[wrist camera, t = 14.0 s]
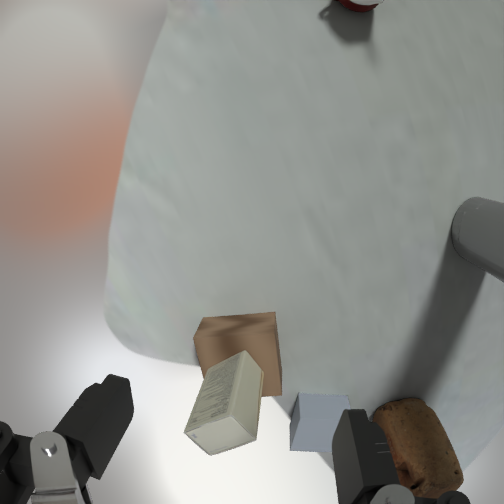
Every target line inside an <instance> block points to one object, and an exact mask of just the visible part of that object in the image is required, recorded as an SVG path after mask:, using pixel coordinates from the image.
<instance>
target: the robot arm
mask: <svg viewBox="0 0 504 504" xmlns="http://www.w3.org/2000/svg"><path fill="white" fill-rule="evenodd" d="M452 240H453V244H454V247H455V249H456V251H457V252H458V254H459V255H460V256H462V257H463V258H465V259H466V260H468V261H470V262H471V263H473V264H475V265H476V266H478V267H480V268H481V269H483V270H484V271H486V272H488V273H489V274H491V275H493V276H494V277H496V278H497V279H499V280H501V281H502V282H504V203H501V202H497V201H493V200H489V199H485V198H480V197H474V198H471V199H468V200H467V201H465V202H464V203H463V204H462V205H461V206H460V208H459V209H458V211H457V212H456V215H455V217H454V220H453V224H452ZM133 413H134V406H133V399H132V393H131V387H130V381H129V379H127V378H124V377H120V376H116V375H113V374H109V375H108V376H107V377H106V378H105V379H104V381H103V382H102V383H101V384H98V383H94V384H93V385H91V386H89V387H88V388H86V389H85V390H84V391H83V393H82V394H81V395H80V396H79V399H77V400H76V402H75V403H74V405H73V406H72V407H71V408H70V409H69V411H68V412H67V413H66V414H65V416H64V417H63V418H62V420H61V421H60V422H59V424H58V425H57V426H56V428H55V429H54V430H53V431H52V432H50V431H46V432H41V433H39V434H37V435H36V436H35V437H34V438H32V437H26V436H21V435H17V434H14V433H13V432H12V430H11V428H10V426H9V425H8V424H6V423H4V422H1V421H0V504H27V502H28V500H29V498H30V496H31V502H32V504H93V501H92V498H91V495H90V492H89V489H88V485H87V481H88V479H89V477H90V476H91V477H93V478H96V479H98V480H100V479H101V477H102V474H103V473H104V471H105V469H106V467H107V465H108V463H109V461H110V459H111V458H112V456H113V454H114V452H115V450H116V448H117V446H118V445H119V443H120V441H121V439H122V437H123V435H124V433H125V431H126V430H127V428H128V426H129V424H130V422H131V420H132V417H133ZM332 455H333V462H334V470H335V478H336V486H337V493H338V502H339V504H470V501H469V499H468V497H467V496H466V495H464V494H463V493H462V492H459V491H453V490H452V491H447V492H445V493H443V494H442V495H441V496H440V497H439V498H438V499H436V498H424V497H417V496H413V494H412V492H411V491H410V490H409V489H407V488H406V487H404V486H401V484H400V481H399V477H398V474H397V471H396V467H395V464H394V461H393V457H392V454H391V453H390V448H389V445H388V444H387V438H386V435H385V432H384V431H383V429H382V428H381V427H380V426H379V425H378V424H377V423H376V422H369V421H368V417H367V414H366V411H365V410H364V409H345V410H344V411H343V413H342V415H341V418H340V420H339V423H338V425H337V428H336V430H335V433H334V435H333V439H332ZM34 489H35V493H33V491H34Z"/></svg>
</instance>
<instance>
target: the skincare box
mask: <svg viewBox="0 0 504 504" xmlns="http://www.w3.org/2000/svg"><path fill="white" fill-rule="evenodd" d="M263 378H264V372H263V371H262V369H261V368H260V367H259V366H258V364H257V363H256V362H255V361H254V360H253V358H252V357H251V356H250V355H249V353H248V352H247V351H246V350H244V351H242V352H240V353H238V354H236V355H234V356H232V357H230V358H228V359H226V360H224V361H222V362H220V363H218V364H216V365H214V366H213V367H211V368H209V369H208V370H207V373H206V375H205V378H204V381H203V383H202V386H201V389H200V391H199V394H198V397H197V399H196V402H195V404H194V407H193V410H192V413H191V415H190V418H189V420H188V423H187V425H186V428H185V431H184V433H185V434H186V435H187V436H188V437H189V438H190V439H191V440H192V441H193V442H194V443H195V444H197V445H198V446H199V447H200V448H201V449H202V450H204V451H205V452H206V453H207V454H208V455H214V454H218V453H221V452H224V451H228V450H231V449H234V448H236V447H239V446H242V445H245V444H248V443H250V442H253V441H255V440H256V438H257V429H258V421H259V413H260V404H261V395H262V386H263Z"/></svg>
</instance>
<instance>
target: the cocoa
mask: <svg viewBox="0 0 504 504" xmlns="http://www.w3.org/2000/svg"><path fill="white" fill-rule="evenodd" d="M335 1H339V2H340V3H341V4H342V5H343V6H345V7H346V8H348V9H350V10H353V11H356V12H366V11H369V10H372V9H374V8H375V7H376V6H377V5H378V4H379V3H382V2H383V1H384V0H335Z"/></svg>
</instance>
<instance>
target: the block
mask: <svg viewBox="0 0 504 504" xmlns="http://www.w3.org/2000/svg"><path fill="white" fill-rule="evenodd" d="M373 422H376V423H377V424H378V425H379V426H380V427H381V428H382V429H383V431H384V432H385V435H386V438H387V444H388V445H389V448H390V453H391V454H392V457H393V461H394V464H395V467H396V471H397V474H398V477H399V481H400V484H401V486H404V487H406V488H407V489H409V490H410V491H411V492H412V494H413V496H417V497H424V498H436V499H438V498H439V497H440V496H441V495H442V494H443V493H445V492H447V491H452V490H453V491H456V490H457V489H458V488H459V487H460V486H461V485H462V483H463V481H464V479H463V473H462V470H461V468H460V464H459V461H458V459H457V457H456V454H455V451H454V449H453V447H452V445H451V442H450V440H449V438H448V436H447V434H446V432H445V430H444V428H443V426H442V424H441V422H440V421H439V419H438V417H437V415H436V413H435V412H434V411H433V410H432V409H431V408H430V407H428V406H427V405H426V403H425V402H424V401H423V400H421V399H415V398H406V399H402V400H400V401H392V402H388V403H386V404H385V405H384V406H381V407H379V408H378V409H377V411H376V412H375V414H374V417H373Z"/></svg>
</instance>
